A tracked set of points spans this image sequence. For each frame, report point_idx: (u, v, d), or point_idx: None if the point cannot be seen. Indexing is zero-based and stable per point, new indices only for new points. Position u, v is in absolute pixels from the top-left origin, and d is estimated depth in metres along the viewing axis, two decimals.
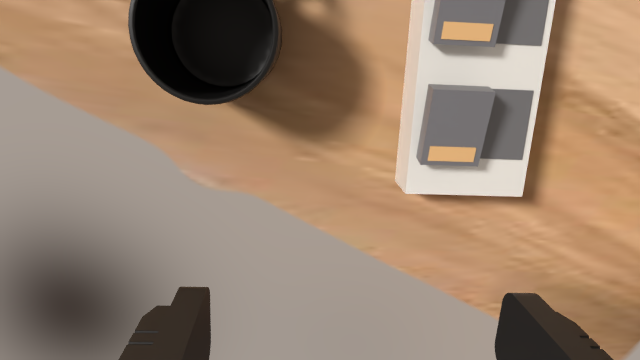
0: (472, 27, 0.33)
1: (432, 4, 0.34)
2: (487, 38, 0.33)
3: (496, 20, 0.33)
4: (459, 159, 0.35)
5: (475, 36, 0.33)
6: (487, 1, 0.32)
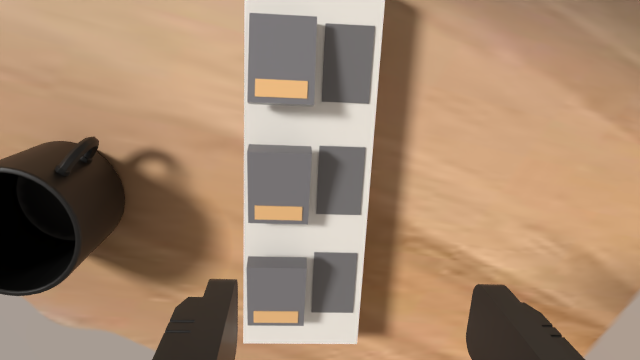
0: (282, 209, 0.35)
1: None
2: (299, 217, 0.35)
3: (305, 203, 0.35)
4: (284, 321, 0.37)
5: (287, 217, 0.35)
6: (292, 189, 0.34)
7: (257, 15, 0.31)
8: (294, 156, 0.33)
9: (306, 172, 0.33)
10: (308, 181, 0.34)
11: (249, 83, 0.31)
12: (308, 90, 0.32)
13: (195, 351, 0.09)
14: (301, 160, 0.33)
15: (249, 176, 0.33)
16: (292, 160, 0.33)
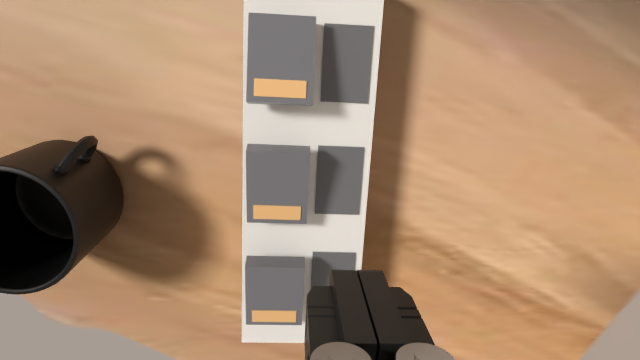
0: (281, 209, 0.35)
1: None
2: (298, 217, 0.35)
3: (303, 203, 0.35)
4: (282, 320, 0.38)
5: (285, 216, 0.35)
6: (291, 189, 0.34)
7: (256, 15, 0.31)
8: (293, 156, 0.33)
9: (305, 172, 0.33)
10: (307, 181, 0.34)
11: (248, 83, 0.31)
12: (307, 90, 0.32)
13: (353, 332, 0.10)
14: (300, 160, 0.33)
15: (248, 175, 0.33)
16: (291, 160, 0.33)
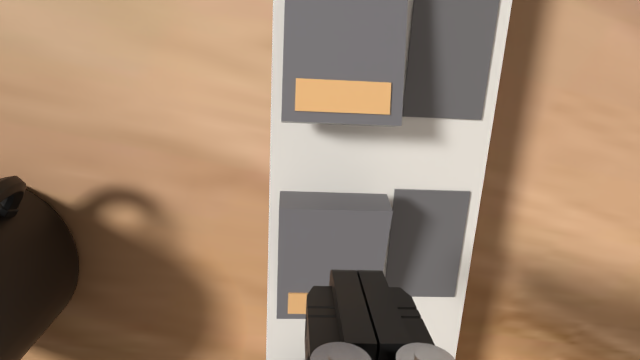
0: None
1: None
2: None
3: None
4: None
5: None
6: (354, 267, 0.20)
7: None
8: (362, 215, 0.19)
9: (380, 241, 0.19)
10: (382, 255, 0.20)
11: (285, 87, 0.17)
12: (392, 99, 0.17)
13: (353, 332, 0.10)
14: (373, 221, 0.19)
15: (281, 248, 0.19)
16: (358, 222, 0.19)
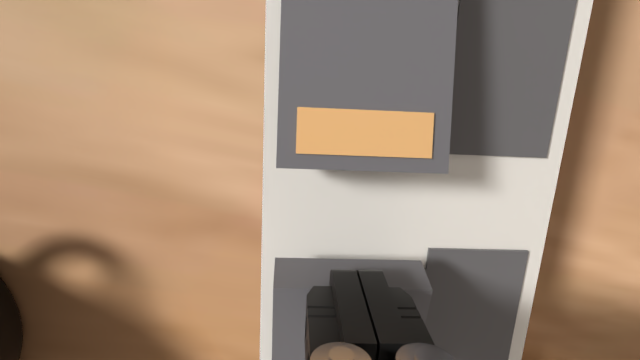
0: None
1: None
2: None
3: None
4: None
5: None
6: None
7: None
8: None
9: None
10: None
11: (282, 119, 0.12)
12: (435, 137, 0.12)
13: (353, 332, 0.10)
14: None
15: (277, 338, 0.14)
16: None
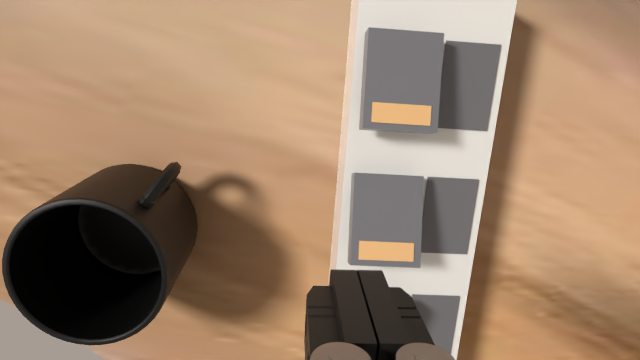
0: (391, 247, 0.30)
1: (349, 214, 0.32)
2: (410, 258, 0.30)
3: (416, 239, 0.30)
4: None
5: (396, 256, 0.30)
6: (403, 219, 0.30)
7: (377, 30, 0.27)
8: (405, 178, 0.30)
9: (418, 198, 0.30)
10: (420, 209, 0.30)
11: (365, 107, 0.27)
12: (431, 116, 0.28)
13: (353, 332, 0.10)
14: (412, 183, 0.30)
15: (355, 202, 0.30)
16: (403, 183, 0.30)
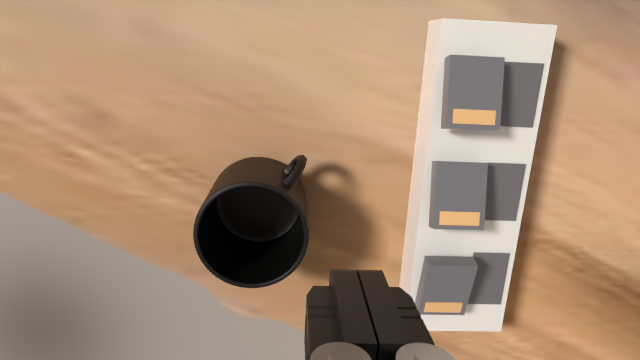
0: (463, 215, 0.40)
1: (428, 192, 0.43)
2: (476, 223, 0.41)
3: (481, 209, 0.41)
4: (449, 310, 0.44)
5: (467, 222, 0.40)
6: (472, 195, 0.40)
7: (457, 56, 0.38)
8: (474, 165, 0.40)
9: (483, 179, 0.40)
10: (485, 187, 0.40)
11: (448, 112, 0.38)
12: (496, 118, 0.38)
13: (353, 332, 0.10)
14: (479, 168, 0.40)
15: (437, 183, 0.40)
16: (472, 168, 0.40)
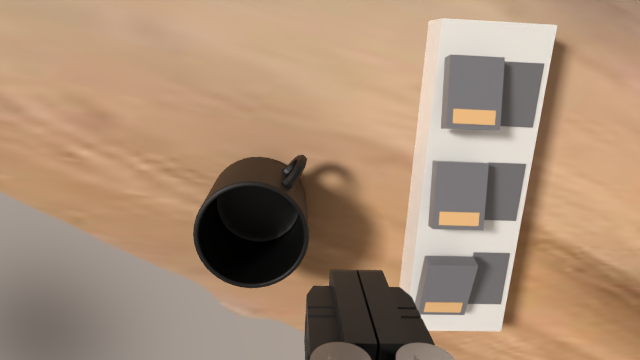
0: (462, 215, 0.41)
1: (428, 192, 0.43)
2: (476, 223, 0.41)
3: (481, 209, 0.41)
4: (449, 310, 0.44)
5: (466, 222, 0.41)
6: (472, 196, 0.40)
7: (457, 56, 0.38)
8: (474, 165, 0.40)
9: (484, 180, 0.40)
10: (485, 188, 0.40)
11: (448, 112, 0.38)
12: (496, 118, 0.38)
13: (353, 332, 0.10)
14: (480, 169, 0.40)
15: (437, 183, 0.40)
16: (473, 169, 0.40)
